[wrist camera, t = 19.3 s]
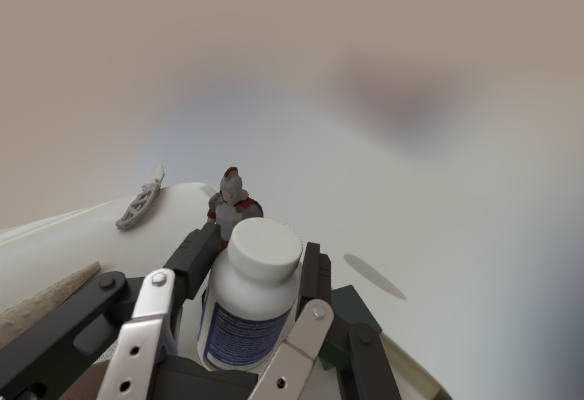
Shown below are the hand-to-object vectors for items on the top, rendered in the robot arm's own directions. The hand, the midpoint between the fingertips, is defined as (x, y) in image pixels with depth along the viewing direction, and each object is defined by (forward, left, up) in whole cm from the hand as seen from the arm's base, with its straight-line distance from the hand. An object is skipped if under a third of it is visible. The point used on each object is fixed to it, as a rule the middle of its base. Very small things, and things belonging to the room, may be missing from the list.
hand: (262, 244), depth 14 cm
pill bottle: (-2, -1, -8) cm, 9 cm away
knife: (-12, +26, -12) cm, 31 cm away
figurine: (-1, +5, -12) cm, 13 cm away
